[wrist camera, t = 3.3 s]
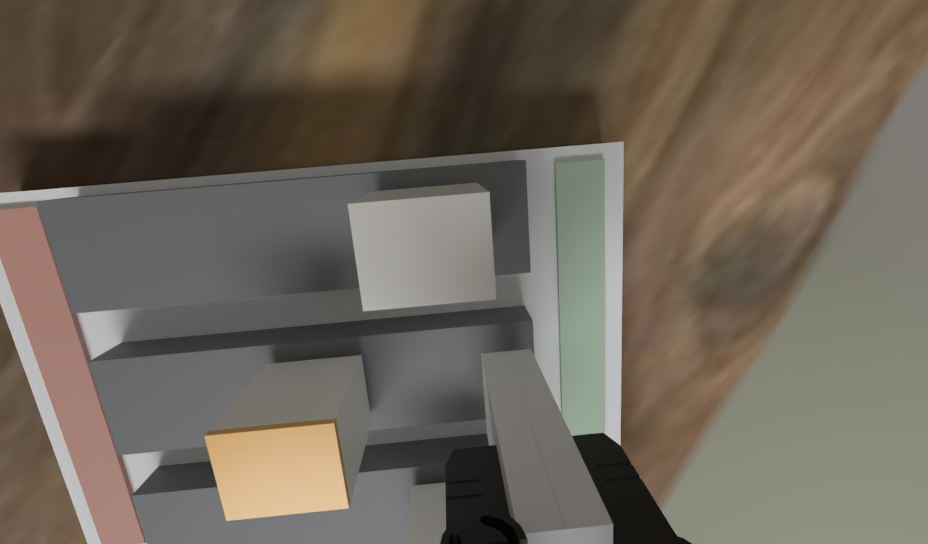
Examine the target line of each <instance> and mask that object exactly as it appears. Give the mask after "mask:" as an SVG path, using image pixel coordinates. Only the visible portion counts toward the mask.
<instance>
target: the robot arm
mask: <svg viewBox="0 0 928 544" xmlns="http://www.w3.org/2000/svg"><path fill="white" fill-rule="evenodd" d="M481 360H482V373H483V387H484V400H485V413H486V427H487V437H488V443H489V446H481V447H471V448H461V449H454V450H453V452H452V453H451V455H450V457H449V459H448V461H447V463H446V464H445V484H446V486H445V489H446V530H445V532H444V533H443V534H442V538H441V543H440V544H691V543H690V542H688V541H687V540H685V539H683V538H681V537H677V535H676V534H675V532H674V531H673V529H672V528H671V526H670V525H669V523H668V521H667V520H666V518H665V517H664V515H663V513H662V512H661V510H660V508H659V507H658V505H657V504H656V502H655V500H654V499H653V497H652V496H651V494H650V492H649V491H648V489H647V487H646V486H645V484H644V483H643V481H642V479H640V478H639V475H638V473H637V471H636V470H635V468H634V467H633V465H631V462H630V460H629V459H628V457H627V455H626V454H625V452H624V451H623V449H622V447H621V446H620V445H619V444H618V443H616V442H615V441H614V440H612V439H611V438H610V437H608V436H607V435H606V434H604V433H595V434H585V435H575V436H572V435H571V433H570V431H569V429H568V427H567V425H566V423H565V420H564V418H563V416H562V414H561V412H560V410H559V408H558V405H557V403H556V401H555V399H554V397H553V395H552V393H551V391H550V388H549V386H548V384H547V382H546V380H545V378H544V376H543V374H542V371H541V369H540V367H539V365H538V363H537V361H536V359H535V357H534V354H533V352H532V350H531V349H525V350H514V351H504V352H493V353H482V354H481Z"/></svg>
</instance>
